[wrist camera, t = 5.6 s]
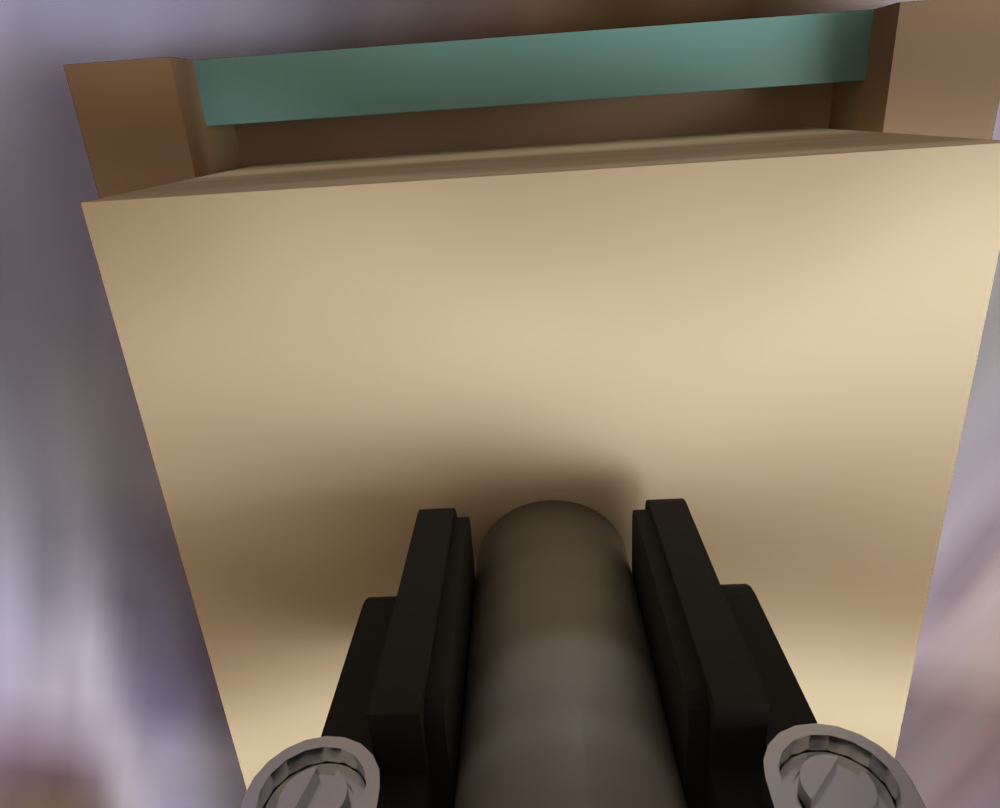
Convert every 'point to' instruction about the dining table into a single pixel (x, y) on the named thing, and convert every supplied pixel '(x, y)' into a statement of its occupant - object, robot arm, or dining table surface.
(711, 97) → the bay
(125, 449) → the dining table surface
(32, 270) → the dining table surface
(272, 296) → the square knob plate
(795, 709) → the robot arm
